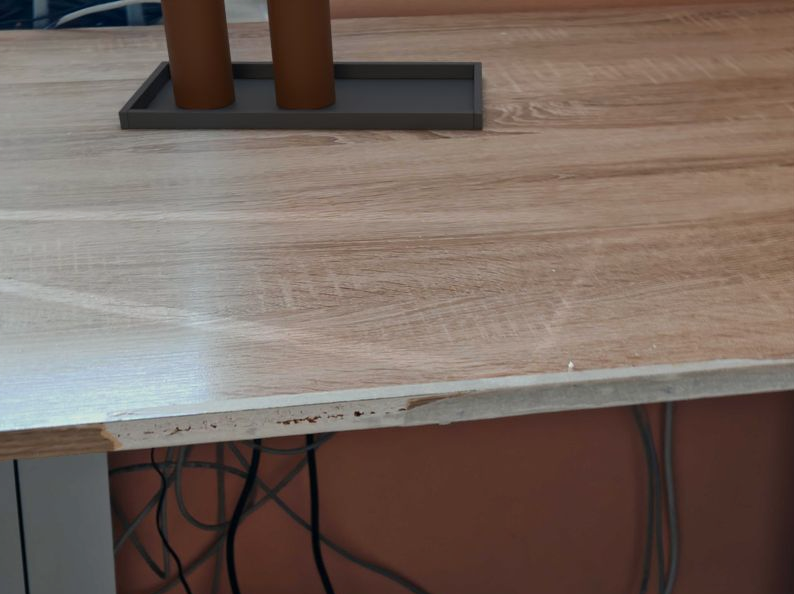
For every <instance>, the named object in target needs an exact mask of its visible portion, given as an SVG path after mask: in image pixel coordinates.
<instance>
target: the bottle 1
mask: <svg viewBox="0 0 794 594" xmlns="http://www.w3.org/2000/svg"><path fill="white" fill-rule="evenodd" d="M160 6H161V14H162V21H163V28H164V35H165V41H166V49H167V55H168V61H169V63H170V70H171V77H172V84H173V91H174V98H175V104H176V105H177V106H178V107H181V108H184V109H189V110H211V109H217V108H222V107H225V106H228V105H230V104H232V103H233V102H234V101H235V90H234V81H233V72H232V64H231V62H232V56H231V55H232V54H231V47H230V38H229V29H228V22H227V21H228V20H227V12H226V3H225V0H160Z"/></svg>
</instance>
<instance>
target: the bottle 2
mask: <svg viewBox="0 0 794 594" xmlns="http://www.w3.org/2000/svg"><path fill="white" fill-rule="evenodd" d="M330 5H331V4H330V0H266V7H267V8H266V9H267V19H268V30H269V41H270V52H271V62H272V63H273V73H274V84H275V95H276V103H277V104H278V105H279V106H280V107H282V108H286V109H291V110H315V109H320V108H324V107H327V106H330V105H332V104H333V103H334V102H335V100H336V96H335V80H334V64H333V62H334V52H333V51H334V50H333V37H332V35H333V34H332V20H331V6H330Z"/></svg>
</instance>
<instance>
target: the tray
mask: <svg viewBox="0 0 794 594" xmlns="http://www.w3.org/2000/svg"><path fill="white" fill-rule="evenodd" d="M231 64H232V72H233V81H234V90H235V101H234V102H233V103H232V104H230V105H228V106H225V107H222V108H217V109H211V110H189V109H184V108H181V107H178V106H177V105H176V104H175V98H174V91H173V84H172V77H171V70H170V63H169V60H168V61H167V60H165V61H164V60H163V61H161V62H160V63H159V64H158V65H157V67H156V68H155V69H154V70H153V71H152V73H150V75H149V76H148V77H147V78H146V80H144V82H143V83H142V84H141V85H140V86H139V87H138V89H137V90H135V92H134V93H133V94H132V95H131V97H130V98H129V99H128V101H126V102H125V104H124V105H123V106H122V107H121V109H119V111H118V112H117V113H118V120H119V124H120V129H121V130H162V131H163V130H167V131H168V130H172V131H173V130H179V131H180V130H183V131H184V130H185V131H186V130H188V131H189V130H191V131H195V130H196V131H197V130H199V131H202V130H203V131H204V130H206V131H207V130H208V131H213V130H214V131H215V130H216V131H220V130H221V131H224V130H225V131H227V130H228V131H231V130H232V131H233V130H234V131H246V130H247V131H248V130H249V131H253V130H254V131H279V130H280V131H483V117H484V115H483V114H484V113H483V111H484V110H483V62H482V61H333V64H334V80H335V96H336V100H335V102H334V103H333V104H332V105H330V106H327V107H324V108H320V109H315V110H291V109H286V108H282V107H280V106H279V105H278V104H277V103H276V95H275V84H274V73H273V63H272V61H231Z"/></svg>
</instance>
